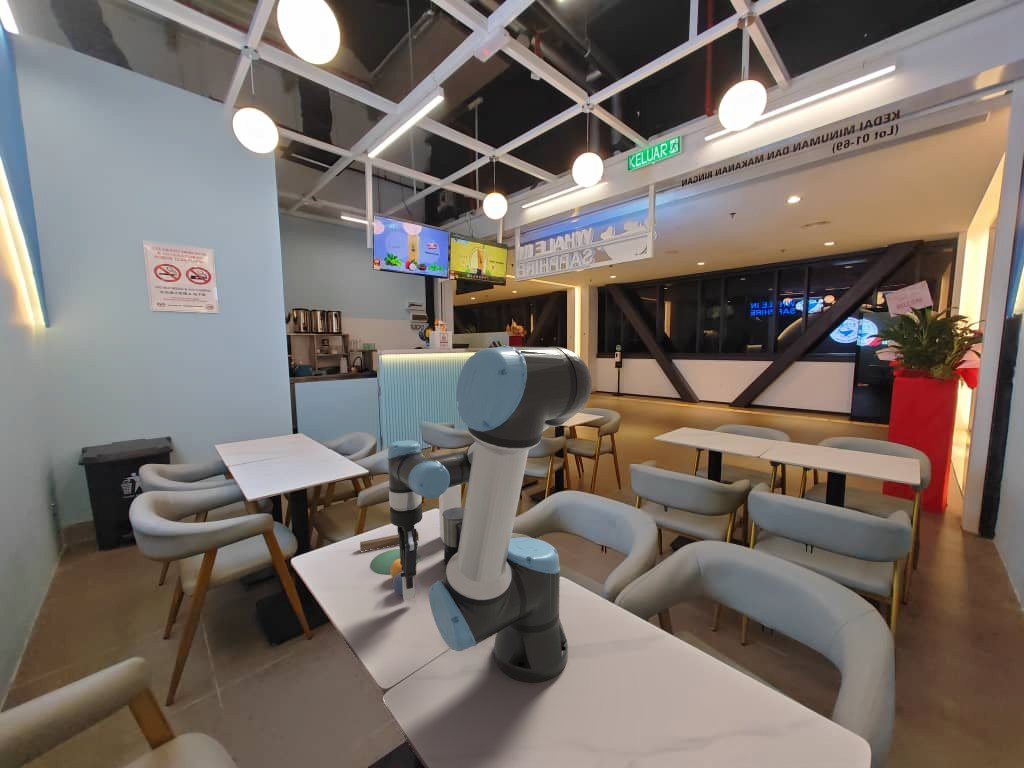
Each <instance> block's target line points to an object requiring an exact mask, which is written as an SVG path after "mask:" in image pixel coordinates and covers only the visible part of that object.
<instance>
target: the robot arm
mask: <svg viewBox="0 0 1024 768" xmlns="http://www.w3.org/2000/svg"><path fill="white" fill-rule="evenodd" d="M463 364H464V365H463V366H462V368H461V370H460V372H459V376H458V379H457V384H456V389H455V390H456V395H455V397H456V398H455V399H456V402H458V406H457V410H458V415H459V416H460V419H461V420H462V422H463V423H464V424H465V425H466V427H467V431H468V434H469V435H470V436H471V437H472V438H473V440H474V442H473V443H472V444H471V445H470V446H468V447H467V448H466V449H465V450H460V451H455V452H451V453H447V454H446V453H445V454H440V455H435V456H428V457H427V456H424V455H422V448H421V444H420V442H419V441H417V440H412V439H409V440H408V439H406V440H397V441H393V442H391V443H390V444H389V445H388V448H387V449H388V450H387V459H386V460H387V462H388V463H387V465H388V466H387V467H388V484H389V485H388V487H389V489H388V500H389V502H388V503H389V506H390V508H389V518H390V519H389V522H390V523H391V524H392V525H393V526H395V527H397V528H396V529H397V535H399V545H398V546H399V549H400V564H401V565H402V568H401V569H402V571H404V572H402V573H401V577H402V585H403V595H402V599H403V602H406V601H409V600H410V601H411V600H413V599H416V584H415V583H416V582H415V580H416V579H415V576H417V564H416V560H417V553H418V552H417V551H418V546H419V545H418V544H419V543H418V541H416V536H417V531H418V530H417V528H415V525H416V524H418V523H420V522H421V521H422V519H423V505H422V501H423V500H422V497H423V498H426V499H430V500H433V499H437V498H439V496H440V495H442V494H443V493H444V492H445V491H446V490H447V488H449V487H453V486H457V485H464V484H467V483H468V484H467V490H466V491H467V492H466V496H465V497H466V498H465V503H464V504H465V505H464V508H465V509H464V516H463V522H462V529H461V535H460V542H459V548H458V552H457V553H456V554H455V555H453V556H452V558H451V559H450V560H449V562H448V565H447V566H446V570H445V577H444V578H443V579H441V580H437V581H435V583H433V584H431V586H430V589H429V590H428V591H429V592H428V593H429V594H428V597H429V598H428V599H429V605H430V610H431V614H432V617H433V620H434V623H435V625H436V628H437V630H438V632H439V634H440V636H441V638H442V639H443V641H444V643H445V644H446V645H447V646H448V647H449V648H450V649H451V650H453V651H455V652H463V651H465V650H467V649H469V648H471V647H476V646H477V645H478V644H480V643H481V642H483V641H485V640H487V639H488V638H490V637H492V636H494V635H495V634H496V635H495V638H494V639H495V640H494V658H495V662H496V664H497V666H498V667H499V669H500V670H501V671H502V672H503V673H505V675H507V676H508V677H510V678H512V679H515V680H518V681H520V682H525V683H540V682H544V681H548V680H550V679H552V678H554V677H556V676H558V675H560V673H561V672H562V671H563V669H564V668H565V667H566V665H567V662H568V657H569V651H568V650H569V648H568V647H569V646H568V639H567V636H566V634H565V630H564V627H563V625H562V622H561V618H560V581H561V580H560V572H561V567H560V561H559V559H560V558H559V552H558V551H557V549H556V547H554V546H553V545H551V544H550V543H549V542H547V541H544V540H542V539H538V538H533V537H531V538H527V537H518V538H512V539H511V535H512V533H513V530H514V524H515V519H516V515H517V510H518V505H519V500H520V495H521V491H522V490H521V489H522V484H523V480H524V475H525V471H526V466H527V461H528V456H529V451H530V450H532V449H533V448H535V447H537V446H538V445H539V444H540V443H541V440H542V437H543V432H544V431H546V430H548V429H549V428H550V427H553V428H554V427H555V428H557V427H560V426H562V425H563V424H565V423H566V422H568V421H569V420H571V418H573V417H574V416H576V415H578V413H579V412H580V411H581V410H582V409H584V408H585V406H586V404H587V403H588V401H589V399H590V397H591V392H592V388H593V387H592V386H593V385H592V383H593V379H592V375H591V372H590V369H589V367H588V365H587V363H585V361H584V360H583V359H582V357H581V356H579V354H578V353H575V352H573V351H572V350H571V349H567V348H566V347H565V348H564V347H561V346H560V347H559V346H547V347H546V346H509V345H501V346H498V347H487V348H482V349H480V350H477V351H475V352H474V353H473V355H471V356H470V357H469V358H468V359H467V360H466V361H465V363H463Z"/></svg>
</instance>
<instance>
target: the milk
mask: <svg viewBox="0 0 1024 768" xmlns="http://www.w3.org/2000/svg"><path fill="white" fill-rule="evenodd" d="M461 485H462V484H460V485H457V486H453V487H449V488H447V490H446V491H445V492H444V493H443V494H442V495H440V496H439V497H438V509H439V512H438V513H439V514H438V515H439V538H440V539H441V541H442V543H443V544H444V525H443V516H442V513H443V512H444V511H445V510H448V509H450V508H456V507H462V491H461V490H462V486H461Z"/></svg>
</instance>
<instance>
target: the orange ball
mask: <svg viewBox="0 0 1024 768" xmlns="http://www.w3.org/2000/svg"><path fill="white" fill-rule="evenodd" d="M401 568H402V565H401V564H400V559H397V560H395V561H394V562H393V564H392V565H391V568H390V573H391V574H390V576H391V577H392V578H393V579H394V578H395V576H396V575H397V574H398V573H400V572H403V571H402V569H401Z"/></svg>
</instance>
